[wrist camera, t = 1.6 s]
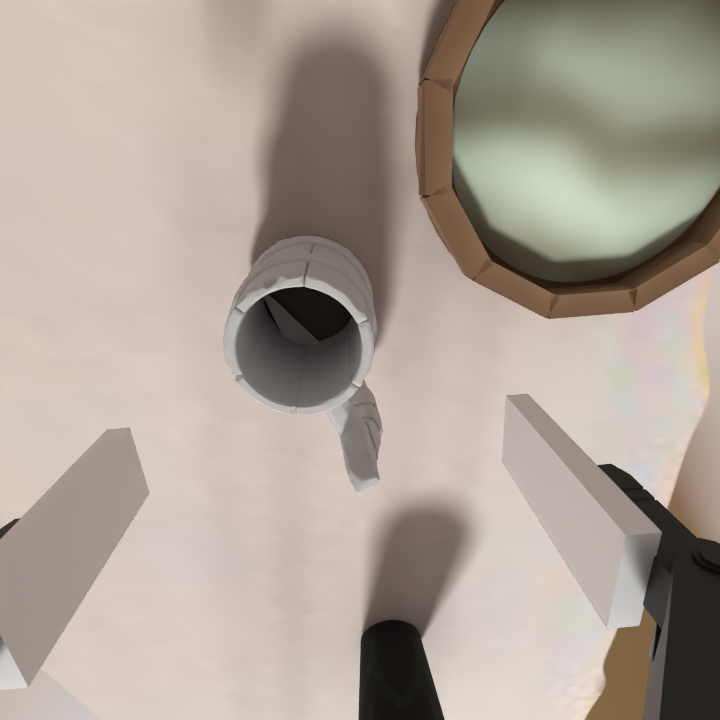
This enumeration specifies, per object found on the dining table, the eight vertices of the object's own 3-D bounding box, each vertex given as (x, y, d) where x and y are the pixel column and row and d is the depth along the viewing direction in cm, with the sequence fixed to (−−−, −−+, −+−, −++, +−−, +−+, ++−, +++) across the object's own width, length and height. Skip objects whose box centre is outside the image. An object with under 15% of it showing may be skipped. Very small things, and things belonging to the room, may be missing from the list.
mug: (335, 209, 25) (337, 224, 14) (416, 371, 29) (466, 481, 18) (225, 268, 26) (144, 328, 15) (318, 417, 30) (310, 550, 19)
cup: (348, 615, 38) (354, 792, 27) (433, 608, 38) (474, 781, 27) (350, 671, 41) (357, 853, 30) (429, 665, 41) (466, 842, 30)
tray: (411, -87, 20) (422, -127, 18) (814, -108, 21) (881, -150, 18) (417, 315, 28) (426, 328, 25) (714, 291, 28) (752, 302, 26)
